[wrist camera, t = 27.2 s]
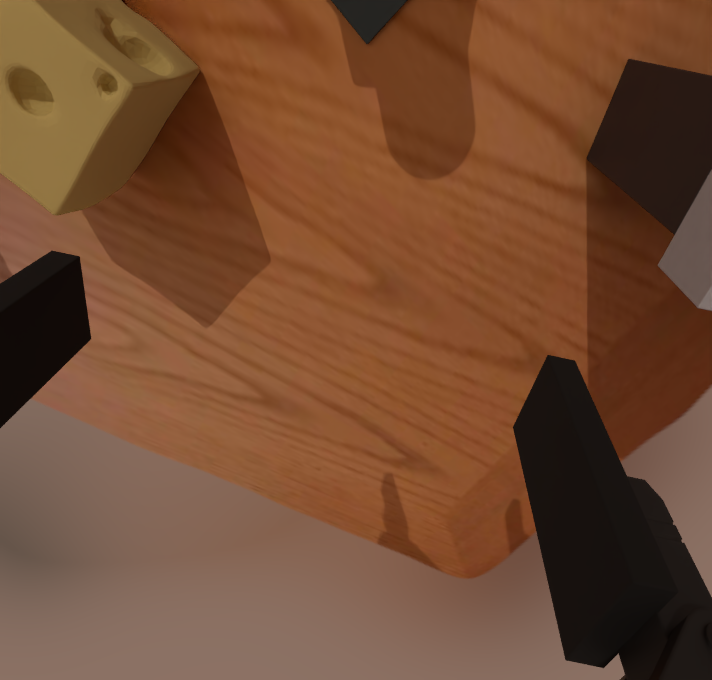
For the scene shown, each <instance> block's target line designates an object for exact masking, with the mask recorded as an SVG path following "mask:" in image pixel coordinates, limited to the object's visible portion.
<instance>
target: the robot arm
mask: <svg viewBox="0 0 712 680" xmlns="http://www.w3.org/2000/svg"><path fill="white" fill-rule="evenodd" d="M90 340H91V334H90V327H89V320H88V313H87V306H86V299H85V291H84V284H83V277H82V270H81V263H80V256H75V255H70V254H65V253H61V252H56V251H51V252H49V253H48V254H46V255H45V256H43V257H41V258H40V259H38V260H37V261H35V262H34V263H32V264H30V265H29V266H27V267H26V268H24V269H23V270H21V271H19V272H18V273H16V274H15V275H13V276H12V277H10V278H8V279H7V280H5V281H4V282H2V283H1V284H0V428H1V427H2V426H3V425H4V424H5V423H6V422H7V421H8V420H9V419H10V418H11V417H12V416H13V415H14V414H15V413H16V412H17V411H18V410H19V409H20V408H21V407H22V406H23V405H24V404H25V403H26V402H27V401H28V400H29V399H30V398H32V397H33V396H34V395H35V394H36V393H37V392H38V391H39V390H40V389H41V388H42V387H43V386H44V385H45V384H46V383H47V382H48V381H49V380H50V379H51V378H52V377H53V376H54V375H55V374H56V373H57V372H58V371H59V370H60V369H61V368H62V367H63V366H64V365H65V364H66V363H67V362H68V361H69V360H70V359H71V358H72V357H73V356H74V355H75V354H76V353H77V352H78V351H79V350H80V349H81V348H82V347H83V346H84V345H86V344H87V343H88V342H89V341H90ZM513 429H514V434H515V438H516V443H517V447H518V451H519V456H520V460H521V465H522V469H523V474H524V478H525V482H526V487H527V491H528V496H529V500H530V505H531V509H532V513H533V518H534V522H535V527H536V531H537V536H538V540H539V544H540V549H541V553H542V558H543V562H544V567H545V571H546V575H547V580H548V584H549V589H550V593H551V598H552V602H553V607H554V611H555V615H556V619H557V624H558V629H559V633H560V638H561V642H562V646H563V650H564V655H565V659H566V660H567V661H572V662H577V663H582V664H587V665H592V666H597V667H602V668H604V667H605V666H606V665H607V664H608V663H609V662H610V661H611V660H612V659H613V658H614V657H615V656H616V655H617V654H618V653H619V656H620V659H621V662H622V666H623V669H624V672H625V675H624V676H623V677H622V678H621V679H620V680H712V597H711V595H710V593H709V591H708V590H707V587H706V586H705V583H704V581H703V579H702V578H701V575H700V574H699V571H698V569H697V567H696V565H695V563H694V562H693V560H692V557H691V555H690V553H689V552H688V549H687V548H686V545H685V544H684V543H682V542H681V540H682V538H681V536H680V534H679V532H678V530H677V528H676V526H675V525H673V520H672V518H671V516H670V514H669V512H668V510H667V508H666V506H665V504H664V502H663V500H662V499H661V498H660V496H659V495H658V494H657V493H656V492H655V491H654V490H653V489H652V488H651V487H650V485H649V484H648V483H647V482H646V481H645V480H642V479H638V478H633V477H627V475H626V473H625V471H624V469H623V467H622V464H621V462H620V460H619V458H618V455H617V453H616V451H615V449H614V447H613V444H612V442H611V440H610V438H609V435H608V433H607V431H606V429H605V426H604V424H603V422H602V420H601V418H600V415H599V413H598V411H597V409H596V406H595V404H594V402H593V400H592V398H591V395H590V393H589V391H588V389H587V386H586V384H585V382H584V380H583V377H582V375H581V373H580V371H579V369H578V366H577V364H576V362H575V361H574V360H569V359H565V358H560V357H555V356H550V355H548V356H547V358H546V360H545V362H544V364H543V366H542V368H541V370H540V372H539V374H538V376H537V378H536V380H535V383H534V385H533V387H532V389H531V391H530V393H529V395H528V397H527V399H526V401H525V403H524V405H523V407H522V409H521V412H520V414H519V416H518V418H517V420H516V422H515V424H514V426H513Z"/></svg>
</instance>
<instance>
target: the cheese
mask: <svg viewBox="0 0 712 680" xmlns="http://www.w3.org/2000/svg"><path fill="white" fill-rule="evenodd" d="M199 72H200V69H199V67H198V66H197V65H196V64H195V63H194V62H193V61H192V60H191V59H190V58H189V57H188V56H187V55H186V54H185V53H184V52H182V51H181V50H180V49H179V48H178V47H177V46H176V45H175V44H174V43H173V42H172V41H171V40H170V39H169V38H168V37H167V36H165V35H164V34H163V33H162V32H161V31H160V30H159V29H158V28H157V27H156V26H154V25H153V24H152V23H151V22H150V21H148V20H147V19H145V18H143V17H142V16H140V15H139V14H137V13H135V12H134V11H132V10H131V9H130V8H129V7H127V6H126V5H125V4H124V3H123V1H122V0H0V173H1V174H2V175H3V176H5V177H6V178H7V179H9V180H10V181H11V182H13V183H14V184H15V185H17V186H18V187H19V188H21V189H22V190H23V191H24V192H26V193H27V194H28V195H29V196H31V197H32V198H33V199H35V200H36V201H37V202H38V203H40V204H41V205H42V206H43V207H44V208H46V209H47V210H48V211H49V212H50V213H52V214H53V215H61V214H65V213H70V212H74V211H79V210H82V209H85V208H88V207H91V206H93V205H95V204H97V203H99V202H100V201H102V200H104V199H105V198H107V197H109V196H110V195H112V194H113V193H115V192H116V191H118V190H119V189H120V188H121V187H122V186H123V185H124V184H125V183H126V182H127V181H128V180H129V178H130V177H131V176H132V174H133V173H134V172H135V170H136V169H137V167H138V166H139V165H140V163H141V162H142V160H143V159H144V157H145V156H146V154H147V153H148V151H149V149H150V148H151V146H152V144H153V142H154V141H155V139H156V137H157V136H158V134H159V132H160V130H161V129H162V127H163V125H164V124H165V122H166V120H167V119H168V117H169V116H170V114H171V113H172V111H173V110H174V108H175V107H176V105H177V104H178V102H179V101H180V99H181V98H182V96H183V95H184V94H185V92H186V91H187V89H188V88H189V87H190V85H191V84H192V82H193V81H194V79H195V78H196V77H197V75H198V74H199Z"/></svg>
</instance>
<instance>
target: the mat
mask: <svg viewBox="0 0 712 680" xmlns="http://www.w3.org/2000/svg"><path fill="white" fill-rule="evenodd" d="M331 1H332V2H333V3H334V4H335V6H336V7H337V8H338V9H339V11H340V12H341V13H342V14H343V15H344V17H345V18H346V19H347V20H348V22H349V23H350V24H351V25H352V27H353V28H354V29H355V30H356V31H357V33H358V34H359V35H360V36H361V38H362V39H363V40H364V41H365V43H366V44H368V43H369V42H370V41H371V40H372V39H373V38H374V36H375V35H376V34H377V33H378V32H379V31H380V30H381V29H382V28H383V27H384V25H385V24H386V23H387V22H388V21H389V20H390V19H391V18H392V17H393V16H394V14H395V13H396V12H397V11H398V10H399V9H400V8H401V7H402V6H403V5H404V3H405V2H406V1H407V0H331Z"/></svg>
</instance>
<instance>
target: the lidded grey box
mask: <svg viewBox="0 0 712 680" xmlns="http://www.w3.org/2000/svg"><path fill="white" fill-rule="evenodd" d="M587 160H588V161H589V162H591V163H592V164H593V165H594V166H595V167H596V168H598V169H599V170H600V171H601V172H602V173H603V174H605V175H606V176H607V177H608V178H609V179H610V180H612V181H613V182H614V183H615V184H616V185H617V186H619V187H620V188H621V189H622V190H623V191H624V192H625V193H627V194H628V195H629V196H630V197H631V198H632V199H634V200H635V201H636V202H637V203H638V204H639V205H641V206H642V207H643V208H644V209H645V210H646V211H648V212H649V213H650V214H651V215H652V216H653V217H655V218H656V219H657V220H658V221H659V222H660V223H662V224H663V225H664V226H665V227H666V228H667V229H669V230H670V231H671V232H672V233H673V234H674V237H673V239H672V241H671V242H670V244H669V246H668V248H667V250H666V251H665V253H664V255H663V257H662V258H661V260H660V262H659V264H658V267H659V268H660V269H661V270H662V271H663V272H664V273H665V274H666V275H667V276H668V277H669V278H670V279H671V280H672V281H673V282H674V283H675V285H676V286H677V287H678V288H679V289H680V290H681V291H682V292H683V293H684V294H685V295H686V296H687V297H688V298H689V299H690V300H691V301H692V302H693V303H694V305H695V306H696V307H697V308H700V309H705V310H710V311H712V76H710V75H705V74H701V73H696V72H691V71H686V70H681V69H676V68H671V67H666V66H662V65H657V64H652V63H647V62H642V61H637V60H632V59H628V62H627V64H626V66H625V69H624V71H623V73H622V76H621V78H620V81H619V83H618V85H617V88H616V90H615V92H614V95H613V97H612V99H611V102H610V104H609V107H608V109H607V111H606V114H605V116H604V118H603V121H602V123H601V125H600V128H599V130H598V133H597V135H596V137H595V140H594V142H593V144H592V147H591V149H590V152H589V154H588V156H587Z"/></svg>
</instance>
